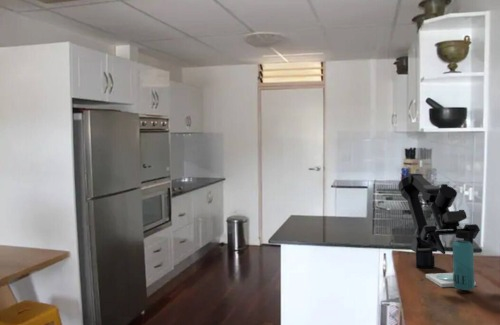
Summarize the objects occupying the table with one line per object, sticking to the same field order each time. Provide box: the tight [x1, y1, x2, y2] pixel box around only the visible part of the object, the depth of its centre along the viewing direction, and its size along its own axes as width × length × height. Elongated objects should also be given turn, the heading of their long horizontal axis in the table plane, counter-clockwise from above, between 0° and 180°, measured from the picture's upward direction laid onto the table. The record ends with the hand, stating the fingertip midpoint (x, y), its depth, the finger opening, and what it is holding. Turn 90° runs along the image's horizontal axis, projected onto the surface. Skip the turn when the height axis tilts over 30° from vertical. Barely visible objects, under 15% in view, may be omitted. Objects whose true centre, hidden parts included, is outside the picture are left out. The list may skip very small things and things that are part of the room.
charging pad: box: [425, 272, 477, 288], centre depth 151 cm, size 12×12×1 cm
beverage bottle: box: [451, 231, 476, 291], centre depth 140 cm, size 6×7×20 cm
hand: (458, 253), depth 143 cm, fingers open, 9 cm apart
